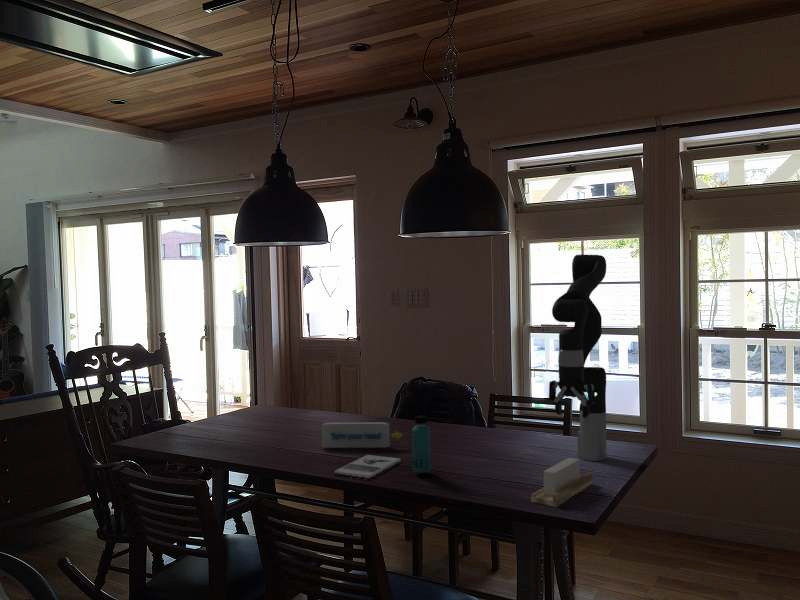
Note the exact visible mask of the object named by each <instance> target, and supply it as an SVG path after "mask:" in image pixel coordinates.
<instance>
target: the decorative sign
mask: <svg viewBox="0 0 800 600" xmlns="http://www.w3.org/2000/svg"><path fill="white" fill-rule="evenodd" d="M390 436H391V438H396V440H399V439H400V438H401V437H402V436H403V434H402V432H399V431H395V433H391V434H390V424H389V423H388V422H384V421H382V422H375V421H374V422H371V421H370V422H365V421H364V422H324V423H323V424H322V425H321V447H322V448H323V447H385V448H386V447H388V448H390V445H391V444H390ZM386 449H387V448H386Z"/></svg>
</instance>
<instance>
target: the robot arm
mask: <svg viewBox="0 0 800 600" xmlns="http://www.w3.org/2000/svg"><path fill="white" fill-rule="evenodd" d="M571 272H572V283H571V284H570V285H569V287H568V289H567V290H566V292H565V293H564V294H562V295H561V296H559V297H558V298H556V300H555V301H554V303H553V304H552V308H551V313H552V318H554V320H555V321H557V322H559V323H574V325H573V327H572V328H570V329H569V328H568V329H564V330H561V331H560V332H559V334H558V349H559V351H558V361H557V362H558V381H557V380H551V381H549V383H548V384H549V385H548V399H549V400H550V401H552V402H554V412H555V413H556V415H558V416H560V415H562V414H563V411H562V410H563V409H562V407H563V405H562V404H563V402H562V400H563V399H564V397H566V398H567V397H568V398H569V397H571V398H576V399H578V401H579V402H580V404H579V430H578V431H577V456H578V458H581V459H582V460H585V461H590V462H591V461H592V462H602V461H605V460H607V457H608V455H607V454H608V452H607V451H608V450H607V447H608V446H607V406H606V403H607V399H606V398H607V397H606V396H607V394H606V392H607V373H606V369H605V368H604V367H601V366H585V364H586V361H587V358H588V357H589V355H590V353H591V352H592V350H593V349H594V347H595V346H596V345H597V343H598V342H599V340H600V338H601V336H602V330H603V329H602V326H603V325H602V315H601V312H600V311H599V309H598V307H597V306H596V305H595V303H594V302H593V301H592V300H591V298H590V296H591V294H592V292H593V291H595V289H596V288H597V287H598V286H599V285H600V284H601V282H603V280H604V279H605V277H606V274H607V261H606V257H604V256H603V255H600V254H576V255H574V257H573V259H572V262H571ZM557 388H559V389H560V391H559V392H558V393H557ZM585 393H587V394H585Z"/></svg>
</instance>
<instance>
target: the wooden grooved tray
mask: <svg viewBox="0 0 800 600" xmlns="http://www.w3.org/2000/svg"><path fill="white" fill-rule="evenodd" d="M592 475H593V473H592V472H587V473H586V474H584V475H582V476H580V478H579V479H577V480H576V481H574V482H573V483H571V484H569V485H568V486H566V487H564V488H563V489H561V490H559V491H558V492H556V493H554V494H553V496H549V495H544V487H542V488H540V489H538V490H537V491H535V492H533V493H532V494H531V495H530V502H531V503H536V504H540V505H544V506H549V507H553V508H558V507H560V505H562V504H564V503H565V502H567V501H568V500H569V498H570V499H572V498H573V497H575V496H576V495H577V494H579V493H580V492H582V491H584V490H585V489H586V487H587V488H588V487H590V486H591V485H592V484H593V477H592ZM589 485H590V486H589ZM583 489H584V490H583ZM578 492H579V493H578ZM575 494H576V495H575ZM572 496H573V497H572ZM566 500H567V501H566Z"/></svg>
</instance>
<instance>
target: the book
mask: <svg viewBox="0 0 800 600" xmlns="http://www.w3.org/2000/svg"><path fill="white" fill-rule="evenodd" d="M398 462H400V463H401V457H391V456H382V455H374V454H366V455H364V456H363V457H360V458H358V459H356V460H354V461H352V462H350V463H348V464H345V465H344V466H342V467H340V468H337V469H336V470H334V473H339V474H345V475H352V476H358V477H365V478H370V477H373V476H375V475H376V474H378V473H380V472H382V471H383V470H385V469H387V468H389V467H391V466H393V465H395V464H396V463H398ZM398 464H399V463H398ZM395 466H396V465H395ZM393 467H394V466H393ZM391 468H392V467H391ZM389 469H390V468H389ZM382 473H383V472H382ZM375 477H376V476H375Z"/></svg>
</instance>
